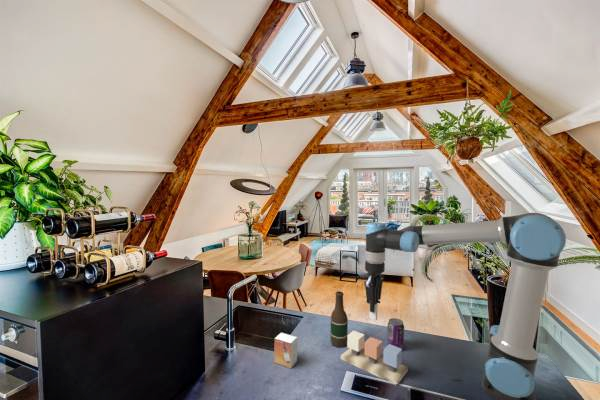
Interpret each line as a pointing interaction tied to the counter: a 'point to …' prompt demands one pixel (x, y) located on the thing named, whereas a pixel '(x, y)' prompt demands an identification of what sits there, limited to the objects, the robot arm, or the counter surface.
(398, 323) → the beverage can
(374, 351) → the salmon orange cube
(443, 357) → the counter surface
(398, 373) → the board
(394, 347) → the light blue cube
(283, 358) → the small box
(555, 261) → the robot arm
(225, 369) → the counter surface
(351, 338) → the cream cube
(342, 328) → the beer bottle
